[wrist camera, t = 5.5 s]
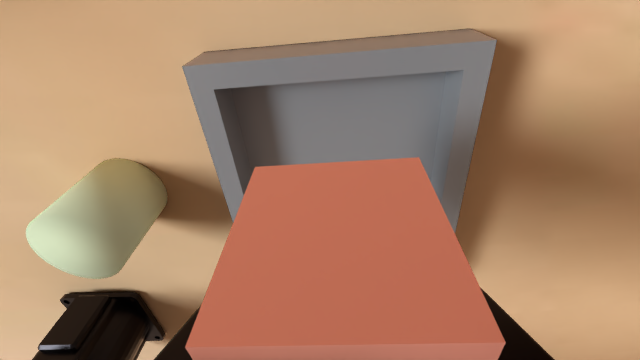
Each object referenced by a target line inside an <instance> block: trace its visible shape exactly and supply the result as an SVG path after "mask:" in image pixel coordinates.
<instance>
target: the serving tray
mask: <svg viewBox="0 0 640 360" xmlns="http://www.w3.org/2000/svg"><path fill="white" fill-rule="evenodd" d="M496 42H497V40H496V39H494V38H492V37H489V36H487V35H485V34H482V33H480V32H478V31H475V30H473V29H460V30H449V31H437V32H426V33H414V34H403V35H391V36H380V37H369V38H357V39H346V40H334V41H323V42H311V43H300V44H289V45H277V46H266V47H254V48H243V49H231V50H220V51H208V52H203V53H202V54H200V55H199V56H197V57H196V58H194V59H193V60H191V61H190V62H188V63H187V64H185V65H183V66H182V68H183V71H184V74H185V77H186V80H187V83H188V86H189V89H190V92H191V95H192V98H193V101H194V104H195V108H196V111H197V114H198V117H199V120H200V123H201V126H202V129H203V132H204V135H205V138H206V141H207V144H208V147H209V150H210V154H211V157H212V160H213V163H214V166H215V169H216V172H217V175H218V178H219V181H220V184H221V187H222V190H223V193H224V196H225V199H226V203H227V206H228V209H229V212H230V215H231V218H232V221H233V222H234V220H235V217H236V215H237V212H238V209H239V207H240V204H241V202H242V199H243V197H244V194H245V191H246V189H247V186H248V184H249V181H250V178H251V176H252V173H253V171H254V168H255V167H262V166H279V165H296V164H313V163H330V162H347V161H365V160H382V159H399V158H416V157H419V158H420V160H421V163H422V165H423V167H424V169H425V171H426V173H427V175H428V178H429V180H430V182H431V184H432V186H433V188H434V190H435V192H436V195H437V197H438V199H439V201H440V203H441V205H442V207H443V210H444V212H445V214H446V216H447V218H448V220H449V222H450V225H451V227H452V229H453V231H454V233H455V231H456V227H457V222H458V217H459V213H460V208H461V204H462V199H463V194H464V190H465V185H466V180H467V176H468V171H469V167H470V162H471V157H472V153H473V148H474V144H475V139H476V134H477V130H478V125H479V120H480V116H481V111H482V107H483V102H484V97H485V93H486V88H487V84H488V79H489V74H490V70H491V65H492V61H493V56H494V51H495V47H496Z"/></svg>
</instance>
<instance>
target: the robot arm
mask: <svg viewBox="0 0 640 360" xmlns="http://www.w3.org/2000/svg"><path fill="white" fill-rule="evenodd" d="M480 289H481V288H480ZM481 291H482V293H483V295H484V297H485V299H486V301H487V304H488V306H489V308H490V310H491V312H492V314H493V316H494V319H495V321H496V323H497V325H498V327H499V329H500V331H501V334H502V336H503V338H504V340H505V342H506V343H505V345H504V347H503V349H502V352H501V354H500V356H499V358H498V360H554V359H553V358H552V357H551V356H550V355H549V354H548V353H547V352H546V351H545V350H544V349H543V348H542V347H541V346H540V345H539V344H538V343H537V342H536V341H535V340H534V339H533V338H532V337H531V336H530V335H529V334H528V333H527V332H526V331H525V330H523V329H522V328H521V327H520V326H519V325H518V324H517V323H516V322H515V321H514V320H513V319H512V318H511V317H510V316H509V315H508V314H507V313H506V312H505V311H504V310H503V309H502V308H501V307H500V306H499V305H498V304H497V303H496V302H495V301H494V300H493V299H492V298H491V297H490V296H489V295H488V294H487V293H486V292H484V291H483V290H482V289H481ZM60 301H61V303H62V304H63V305H64V306H65V307H66V308H67V310H66V311H65V312H64V313H63V315H62V316H61V317H60V318H59V320H58V321H57V322H56V324H55V325H54V326H53V327H52V329H51V330H50V331H49V333H48V334H47V335H46V336H45V338H44V339H43V340H42V342H41V343H40V344H39V346H38V350H39V351H38V353H37V354H36V355H35V357H34V358H33V359H32V360H137V358H138V356H139V354H140V352H141V350H142V348H143V346H144V344H145V342H146V341H160V340H163V338H164V336H165V333H164V331H163V330H162V328H161V327H160V325H159V324H158V322H157V321H156V319H155V318H154V316H153V315H152V313H151V312H150V310H149V309H148V307H147V306H146V304H145V303H144V301H143V300H142V299H141V297H140V296H139V295H138V294H137V293H134V292H121V293H84V294H65V295H64V296H63V297H62V298H61V299H60ZM200 307H201V306H200ZM200 307H199V308H198V310H197V311H196V312H195V313H194V314H193V315H192V316H191V318H190V319H189V320H188V321H187V322H186V323H185V324H184V326H183V327H182V328H181V329H180V330H179V331H178V332H177V334H176V335H175V336H174V337H173V338H172V339H171V341H170V342H169V343H168V344H167V345H166V346H165V347H164V349H163V350H162V351H161V352H160V353H159V354H158V355H157V357H156V358H155V359H154V360H193V359H192V358H191V356H190V354H189V353H188V351H187V350H186V348H185V346H186V344H187V341H188V338H189V336H190V333H191V331H192V328H193V325H194V323H195V320H196V318H197V315H198V313H199V310H200Z"/></svg>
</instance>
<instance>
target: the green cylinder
mask: <svg viewBox="0 0 640 360" xmlns="http://www.w3.org/2000/svg"><path fill="white" fill-rule="evenodd" d="M167 199H168V197H167V191H166V188H165V186H164V184H163V183H162V181H161V180H160V179H159V177H158V176H157V175H156V174H155V173H154V172H152V171H151V170H150V169H148V168H147V167H145V166H143V165H141V164H139V163H137V162H134V161H131V160H127V159H120V158H115V159H109V160H105V161H103V162H102V163H100V164H99V165H98V166H96V167H95V168H94V169H93V170H92V171H90V172H89V173H88V174H87V175H86V176H85V177H83V178H82V179H81V180H80V181H79V182H77V183H76V184H75V185H74V186H73V187H71V188H70V189H69V190H68V191H67V192H65V193H64V194H63V195H62V196H61V197H60V198H58V199H57V200H56V201H55V202H54V203H52V204H51V205H50V206H49V207H48V208H46V209H45V210H44V211H43V212H42V213H40V214H39V215H38V216H37V217H36V218H35V219H33V220H32V221H31V222H30V223H29V224H28V226H27V229H26V237H27V240H28V243H29V244H30V246H31V248H32V249H33V250H34V251H35V252H36V253H37V255H38V256H40V257H41V258H42V259H43V260H45V261H46V262H47V263H49V264H50V265H52V266H54V267H56V268H57V269H59V270H62V271H64V272H66V273H69V274H72V275H75V276H79V277H84V278H91V279H101V278H108V277H111V276H113V275H115V274H117V273H118V272H119V271H120V270H121V269H122V267H123V266H124V264H125V263H126V262H127V260H128V259H129V257H130V256H131V254H132V253H133V252H134V250H135V249H136V247H137V246H138V244H139V243H140V242H141V240H142V239H143V237H144V236H145V234H146V233H147V232H148V230H149V229H150V227H151V226H152V224H153V223H154V222H155V220H156V219H157V217H158V216H159V215H160V213H161V212H162V210H163V209H164V207H165V206H166V203H167Z"/></svg>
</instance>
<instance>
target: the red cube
mask: <svg viewBox="0 0 640 360" xmlns="http://www.w3.org/2000/svg"><path fill="white" fill-rule="evenodd" d="M505 343H506V342H505V340H504V338H503V336H502V334H501V331H500V329H499V327H498V325H497V323H496V321H495V319H494V316H493V314H492V312H491V310H490V308H489V306H488V304H487V301H486V299H485V297H484V295H483V293H482V291H481V289H480V287H479V284H478V282H477V280H476V278H475V276H474V274H473V272H472V269H471V267H470V265H469V263H468V261H467V259H466V257H465V254H464V252H463V250H462V248H461V246H460V244H459V242H458V239H457V237H456V235H455V233H454V231H453V229H452V227H451V225H450V222H449V220H448V218H447V216H446V214H445V212H444V210H443V207H442V205H441V203H440V201H439V199H438V197H437V195H436V192H435V190H434V188H433V186H432V184H431V182H430V180H429V178H428V175H427V173H426V171H425V169H424V167H423V165H422V163H421V160H420V158H419V157H416V158H399V159H382V160H365V161H347V162H330V163H313V164H296V165H279V166H262V167H255V168H254V171H253V173H252V176H251V178H250V181H249V184H248V186H247V189H246V191H245V194H244V197H243V199H242V202H241V204H240V207H239V209H238V212H237V215H236V217H235V220H234V222H233V225H232V227H231V230H230V233H229V235H228V238H227V240H226V243H225V246H224V248H223V251H222V253H221V256H220V258H219V261H218V264H217V266H216V269H215V271H214V274H213V276H212V279H211V282H210V284H209V287H208V289H207V292H206V295H205V297H204V300H203V302H202V305H201V307H200V310H199V313H198V315H197V318H196V320H195V323H194V325H193V328H192V331H191V333H190V336H189V338H188V341H187V344H186V346H185V348H186V350H187V351H188V353H189V354H190V356H191V358H192V359H193V360H498V358H499V356H500V354H501V352H502V349H503V347H504V345H505Z"/></svg>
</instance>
